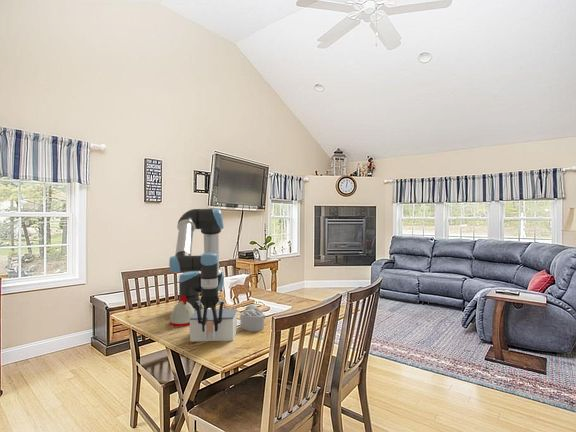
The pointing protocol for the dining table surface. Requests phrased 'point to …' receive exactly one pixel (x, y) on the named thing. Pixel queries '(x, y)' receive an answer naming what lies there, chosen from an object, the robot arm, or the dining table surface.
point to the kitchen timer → (182, 313)
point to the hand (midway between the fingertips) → (210, 338)
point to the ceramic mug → (252, 308)
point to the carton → (223, 333)
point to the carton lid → (210, 320)
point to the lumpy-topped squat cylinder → (252, 320)
